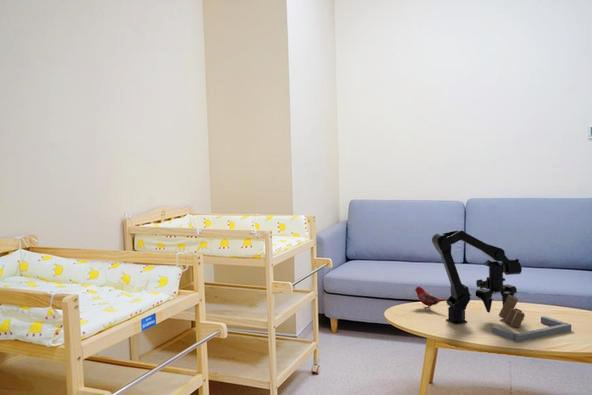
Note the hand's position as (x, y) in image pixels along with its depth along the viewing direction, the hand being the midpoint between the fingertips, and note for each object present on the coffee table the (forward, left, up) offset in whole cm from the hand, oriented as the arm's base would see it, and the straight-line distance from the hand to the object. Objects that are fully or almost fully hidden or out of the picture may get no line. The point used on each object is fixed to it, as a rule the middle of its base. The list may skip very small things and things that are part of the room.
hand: (496, 310), depth 225 cm
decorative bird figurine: (-15, +25, -4) cm, 30 cm away
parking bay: (0, -19, -4) cm, 19 cm away
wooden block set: (+3, -6, -4) cm, 7 cm away
